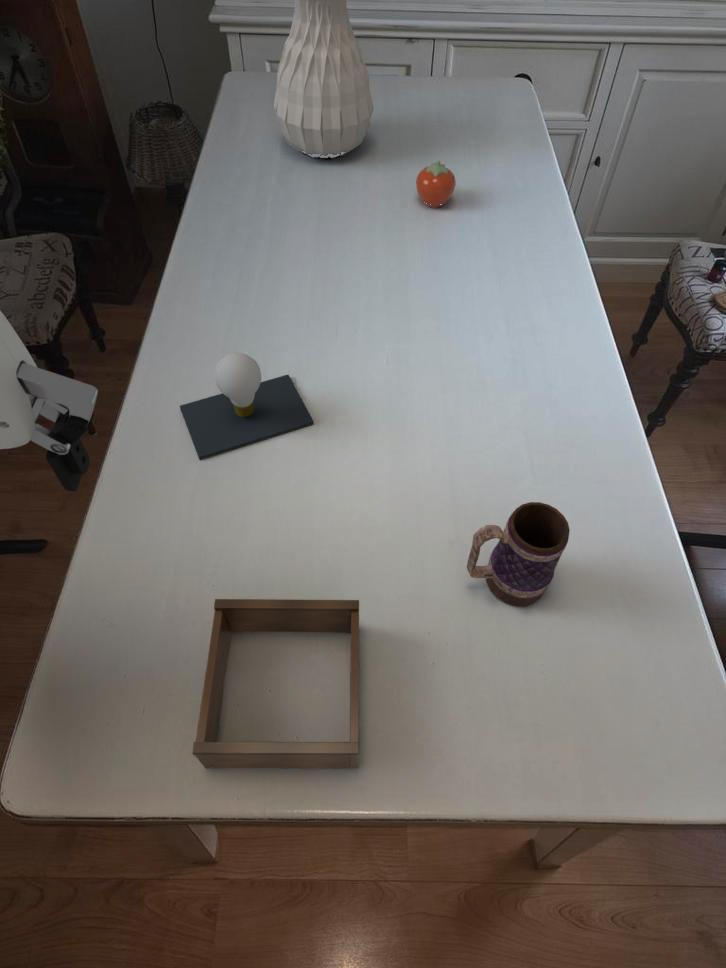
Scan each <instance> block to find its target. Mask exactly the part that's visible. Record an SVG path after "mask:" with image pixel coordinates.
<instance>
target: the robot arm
mask: <svg viewBox="0 0 726 968" xmlns="http://www.w3.org/2000/svg"><path fill="white" fill-rule="evenodd" d="M98 394H99V390H98V389H97V387H96V386H94V385H92V384H89V383H86V382H83V381H80V380H77V379H74V378H71V377H69V376H64V375H62V374H58V373H56V372H52V371H49V370H46V369H43V368H40V367H38V366H37V364H36V362H35V360H34V359H33V357H32V356H31V354H30V352H29V350H28V349H27V347H26V346H25V344H24V342H23V341H22V339H21V338H20V336H19V335H18V333H17V331H16V330H15V329H14V327H13V326H12V324H11V322H9V320H8V319H7V317H6V316H5V315H4V313H3V312H2V310H0V450H9V449H16V448H20V447H22V446H25V445H27V444H28V443H30V442H32V443H34V444H36V445H38V446H40V447H42V448H44V449H46V450H47V452H46V454H45V459H46V461H47V463H48V465H49V466H50V468H51V470H52V472H53V473H54V474H55V477H57V479H58V481H59V483H60V484H61V485H62V487H63V489H64V490H66V491H67V492H77V491H78V489H79V486H80V483H81V480H82V477H83V475H86V474H87V473H88V470H89V468H90V456H89V453H88V452H87V451H88V450H87V449H86V448H85V445H84V444H83V441H82V439H81V437H82V436H83V435H84V434H85V433H86V432H87V430H88V426H89V424H90V420H91V418H92V416H93V412H94V408H95V405H96V402H97V397H98ZM63 406H64V407H63ZM65 407H66V408H65ZM39 416H42V417H44V418H46V419H47V420H49V421H51V422H53V423H54V424H53V427H52V430H50V429H48V428H46V427H44V426H43V425H40V424H38V423H37V421H38V419H39Z"/></svg>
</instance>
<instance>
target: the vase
mask: <svg viewBox="0 0 726 968" xmlns="http://www.w3.org/2000/svg"><path fill="white" fill-rule="evenodd" d="M293 10H294V11H293V17H292V23H291V25H290V26H291V27H290V31H289V35H288V36H287V38H286V40H285V43H284V45H283V49H282V54H281V58H280V59H279V62H278V68H277V74H276V88H275V93H274V99H273V100H274V101H273V109H274V112H275V116H276V119H277V122H278V125H279V128H280V131H281V134H282V136H283V138H284V140H285V142H286V143H287V144H288V145H289V146H291V145H293V147H292V148H293V149H295V150H296V151H298V152H300V151H305V152H306V154H311V155H312V154H320V156H322V155H324V156H327V155H328V154H333V155H337V154H340V155H339V156H340V158H341V157H343V156H345V155H346V154H348V153H349V152H352V151H354V150H355V149H356V148H357V147H359V146H360V145H361V144H362V143H363V141H364V138H365V136H366V133H367V131H368V128H369V126H370V122H371V119H372V116H373V112H374V103H373V99H372V94H371V90H370V77H369V74H368V69H367V68H368V67H367V65H366V62H365V60H364V58H363V52H362V50H361V47H360V44H359V42H358V40H357V38H356V36H355V34H354V33H355V32H354V31H353V30H354V29H353V27H352V24H351V21H350V16H349V12H348V8H347V0H294V9H293ZM354 148H355V149H354ZM351 150H352V151H351ZM341 152H345V154H343V155H341Z"/></svg>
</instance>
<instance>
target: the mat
mask: <svg viewBox="0 0 726 968" xmlns="http://www.w3.org/2000/svg"><path fill="white" fill-rule="evenodd" d="M253 402H254V412H253V413H252V414H251V415H249V416H246V417H241V416H238V415H237V414H236V413H235V410H234V406H233V403H232V402H231V400H230V398H229V397H227V396H225V395H224V394H223V393H222V392H221V393H219V394H216V395H215V394H214V395H212V396H207V397H205V398H202V399H199V400H195V401H191V402H188V403H184V404H181V405H179V408H180V412H181V414H182V417H183V420H184V422H185V425H186V427H187V430H188V434H189V435H190V436H189V437H190V439H191V441H192V443H193V446H194V449H195V452H196V454H197V456H198V459H199V461H201V460H204V459H207V458H210V457H214V456H217V455H221V454H224V453H227V452H229V451H233V450H237V449H239V448H242V447H246V446H249V445H252V444H255V443H258V442H261V441H262V442H263V441H264V440H268V439H272V438H275V437H277V436H280V435H283V434H288V433H290V432H294V431H296V430H300V429H303V428H306V427H309V426H312V425H314V424H315V421H314V420H313V418H312V416H311V414H310V412H309V410H308V409H307V406H306V405H305V403H304V401H303V398H302V396H301V395H300V393H299V392H298V389H297V388H296V385H295V383H294V382H293V380H292V379H291V377H290V375H289V374H285V375H281V376H278V377H274V378H271V379H268V380H267V379H266V380H264V381H261V383H260V386H259V388H258V390H257V391H256V392H255V397H254V400H253Z"/></svg>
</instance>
